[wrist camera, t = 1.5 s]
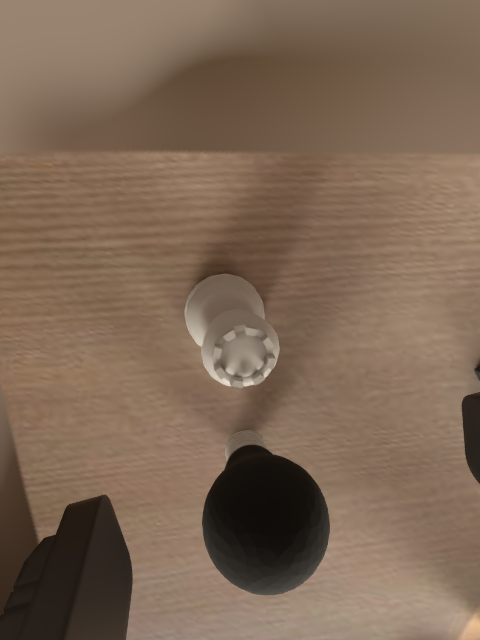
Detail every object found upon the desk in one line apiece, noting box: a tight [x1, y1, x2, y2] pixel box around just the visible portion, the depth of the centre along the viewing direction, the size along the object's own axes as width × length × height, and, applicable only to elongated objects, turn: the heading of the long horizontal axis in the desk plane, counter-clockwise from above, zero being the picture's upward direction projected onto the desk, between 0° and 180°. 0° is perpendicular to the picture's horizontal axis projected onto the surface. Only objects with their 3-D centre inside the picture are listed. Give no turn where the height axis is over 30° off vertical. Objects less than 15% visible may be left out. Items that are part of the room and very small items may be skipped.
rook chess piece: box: [184, 273, 280, 388], centre depth 20 cm, size 4×4×8 cm
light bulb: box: [202, 430, 330, 595], centre depth 22 cm, size 6×6×10 cm
